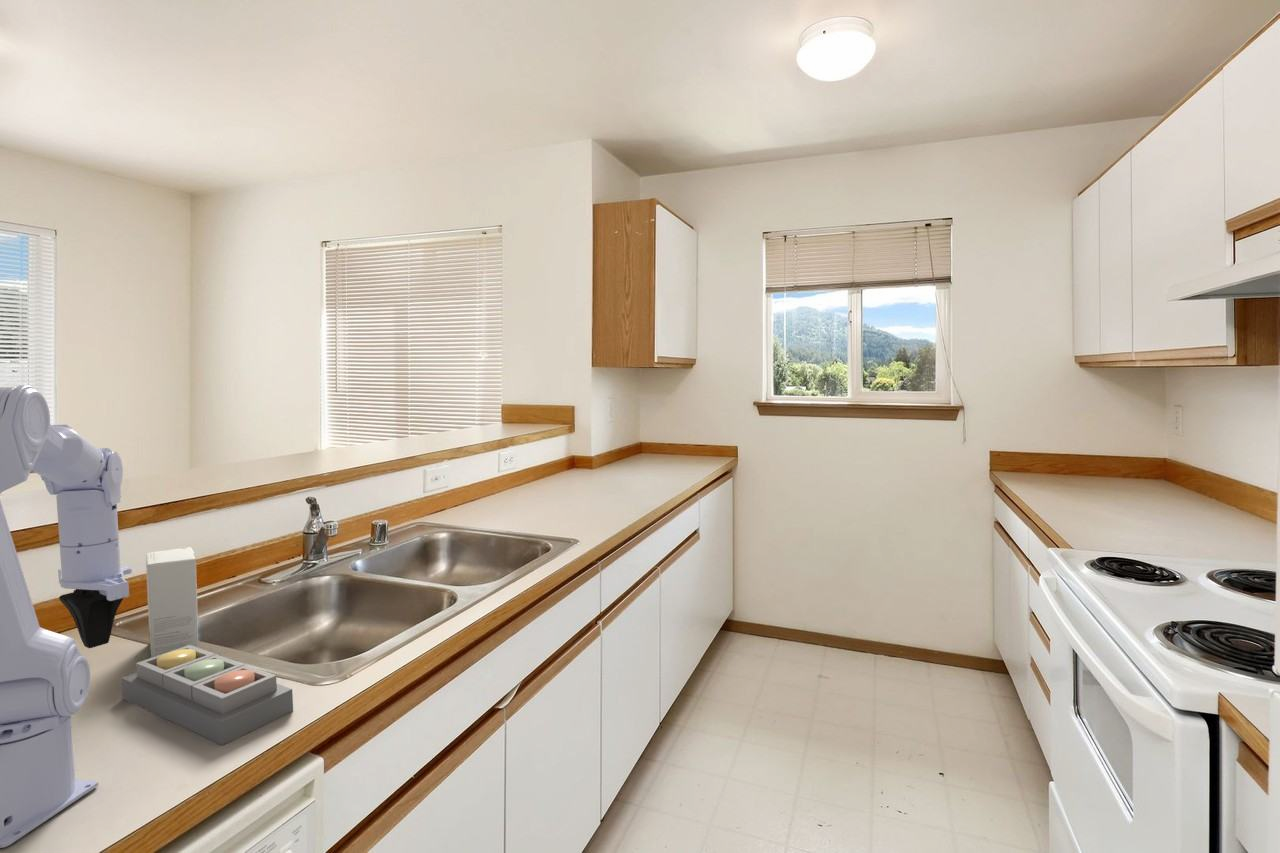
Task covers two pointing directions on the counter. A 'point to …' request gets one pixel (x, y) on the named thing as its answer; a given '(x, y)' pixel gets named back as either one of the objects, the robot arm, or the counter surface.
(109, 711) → the counter surface
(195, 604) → the skincare box
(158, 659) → the yellow rounded piece
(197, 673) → the sage button
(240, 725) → the button panel
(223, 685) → the salmon pink button
